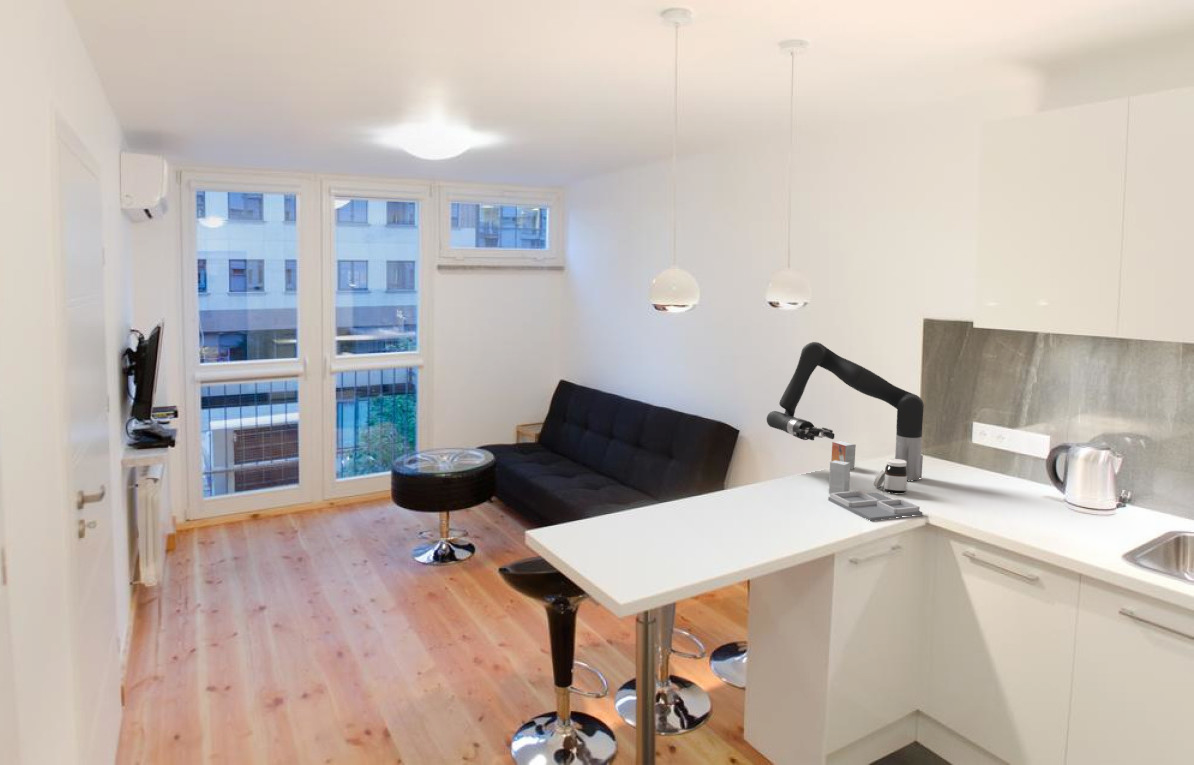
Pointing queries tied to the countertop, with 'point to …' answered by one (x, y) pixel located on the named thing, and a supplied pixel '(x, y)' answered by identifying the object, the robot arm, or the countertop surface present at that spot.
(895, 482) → the spread jar
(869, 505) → the compartment tray
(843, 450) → the small box
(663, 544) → the countertop surface
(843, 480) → the skincare box
